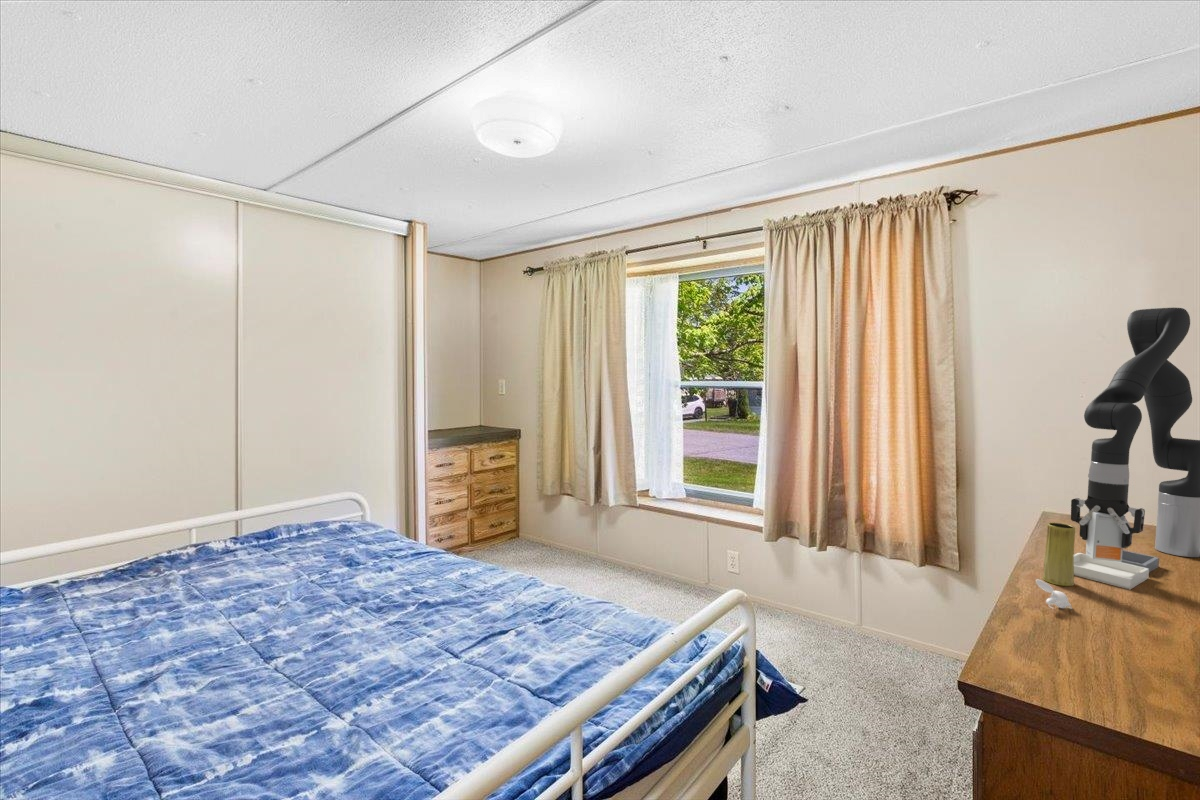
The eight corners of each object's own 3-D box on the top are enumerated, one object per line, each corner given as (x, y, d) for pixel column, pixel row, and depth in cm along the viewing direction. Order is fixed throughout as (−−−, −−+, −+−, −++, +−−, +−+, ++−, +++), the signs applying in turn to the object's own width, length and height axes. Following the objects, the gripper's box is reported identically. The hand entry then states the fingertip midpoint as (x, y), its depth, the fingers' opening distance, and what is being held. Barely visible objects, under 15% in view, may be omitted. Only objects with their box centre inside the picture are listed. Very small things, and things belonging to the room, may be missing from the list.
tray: (1078, 561, 150) (1078, 552, 150) (1148, 578, 138) (1149, 568, 138) (1057, 570, 142) (1058, 561, 142) (1129, 589, 131) (1130, 579, 130)
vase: (1080, 587, 132) (1083, 529, 131) (1051, 585, 133) (1054, 528, 132) (1064, 578, 138) (1067, 522, 137) (1036, 576, 139) (1039, 521, 138)
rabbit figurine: (1083, 614, 117) (1054, 598, 116) (1066, 622, 120) (1037, 607, 119) (1069, 590, 122) (1041, 575, 121) (1053, 598, 124) (1025, 584, 123)
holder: (1102, 554, 156) (1102, 545, 156) (1158, 566, 146) (1159, 557, 146) (1086, 561, 150) (1087, 552, 150) (1144, 575, 140) (1145, 565, 140)
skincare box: (1092, 559, 139) (1095, 513, 138) (1085, 554, 143) (1087, 509, 142) (1123, 562, 137) (1126, 515, 136) (1114, 557, 141) (1117, 511, 140)
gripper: (1151, 483, 135) (1147, 549, 136) (1078, 474, 147) (1074, 533, 148) (1142, 487, 131) (1137, 554, 132) (1067, 476, 143) (1063, 538, 144)
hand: (1104, 543), depth 140 cm, fingers closed on skincare box, 7 cm apart
